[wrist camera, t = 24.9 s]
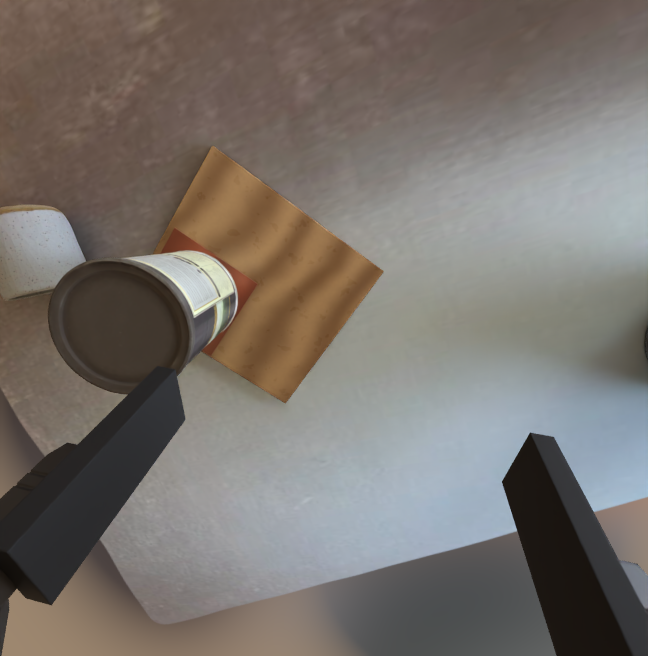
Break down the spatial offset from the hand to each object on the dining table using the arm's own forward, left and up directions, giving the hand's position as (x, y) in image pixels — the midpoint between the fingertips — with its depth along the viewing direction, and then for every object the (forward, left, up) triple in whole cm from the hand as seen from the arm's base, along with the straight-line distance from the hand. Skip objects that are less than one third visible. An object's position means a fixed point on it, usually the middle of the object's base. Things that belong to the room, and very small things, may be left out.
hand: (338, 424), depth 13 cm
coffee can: (+13, +9, -26) cm, 30 cm away
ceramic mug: (+28, +14, -27) cm, 41 cm away
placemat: (+8, +4, -27) cm, 28 cm away
